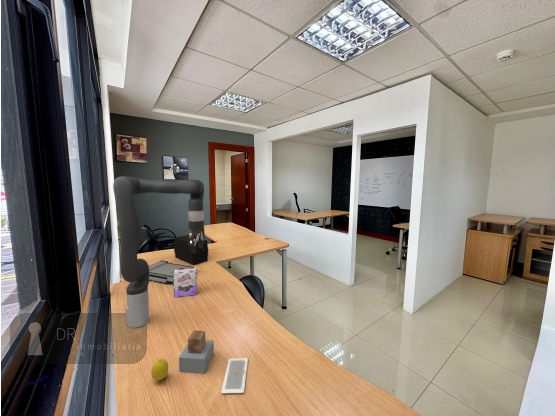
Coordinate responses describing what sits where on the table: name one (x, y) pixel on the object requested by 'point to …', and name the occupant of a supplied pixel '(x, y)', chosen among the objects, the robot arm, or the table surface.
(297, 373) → the table surface
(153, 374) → the lemon
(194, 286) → the candy box
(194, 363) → the base block
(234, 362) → the touchpad
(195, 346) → the walnut block
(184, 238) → the uninterruptible power supply
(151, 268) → the game console
